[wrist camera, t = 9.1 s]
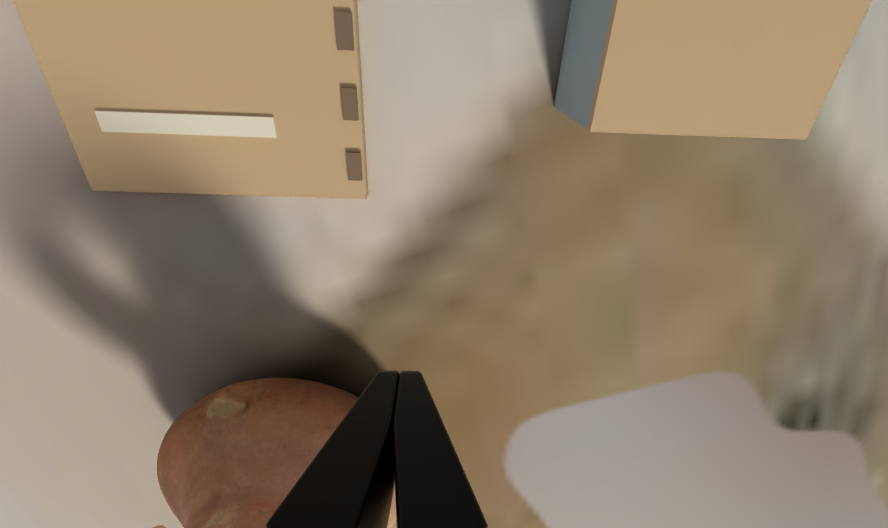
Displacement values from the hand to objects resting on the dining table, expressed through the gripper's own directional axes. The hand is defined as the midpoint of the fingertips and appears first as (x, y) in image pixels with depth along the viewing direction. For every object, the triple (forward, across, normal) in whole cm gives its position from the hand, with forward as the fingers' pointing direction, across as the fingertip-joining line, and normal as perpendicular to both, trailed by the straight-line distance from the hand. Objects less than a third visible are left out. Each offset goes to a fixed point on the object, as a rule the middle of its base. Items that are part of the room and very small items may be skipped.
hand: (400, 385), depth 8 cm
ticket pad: (+12, +8, -6) cm, 16 cm away
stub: (+12, -9, -6) cm, 16 cm away
